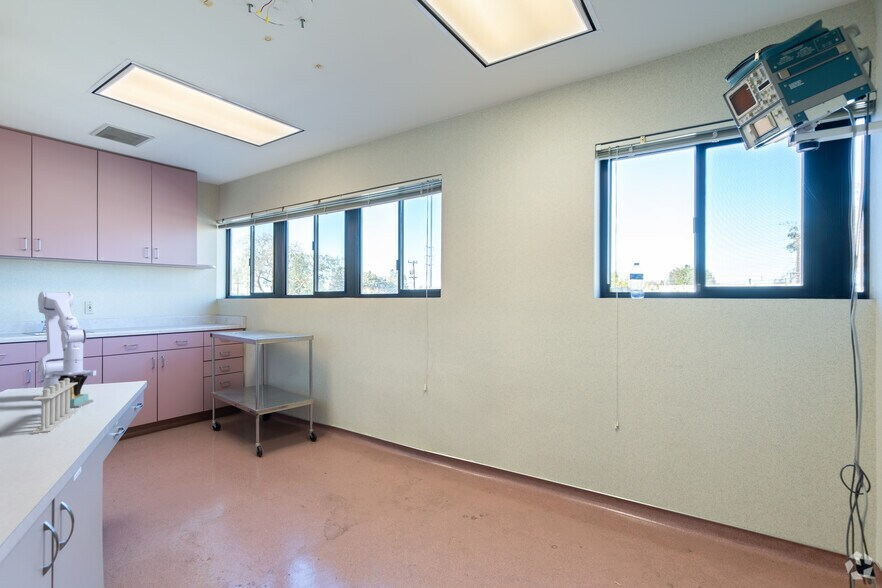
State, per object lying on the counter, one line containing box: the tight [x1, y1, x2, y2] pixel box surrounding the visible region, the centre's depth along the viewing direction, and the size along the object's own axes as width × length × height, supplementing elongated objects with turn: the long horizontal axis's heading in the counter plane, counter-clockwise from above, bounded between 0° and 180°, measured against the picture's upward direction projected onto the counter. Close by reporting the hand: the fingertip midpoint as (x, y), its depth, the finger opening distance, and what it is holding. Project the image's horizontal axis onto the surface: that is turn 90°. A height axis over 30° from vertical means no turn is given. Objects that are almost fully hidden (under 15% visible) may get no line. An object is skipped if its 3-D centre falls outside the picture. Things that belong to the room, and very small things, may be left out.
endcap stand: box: [70, 393, 94, 409], centre depth 158 cm, size 9×9×3 cm
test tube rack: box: [31, 378, 78, 435], centre depth 137 cm, size 25×4×13 cm, turn 27°
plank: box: [70, 382, 82, 399], centre depth 158 cm, size 5×2×8 cm, turn 13°
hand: (72, 394), depth 158 cm, fingers closed on plank, 2 cm apart
